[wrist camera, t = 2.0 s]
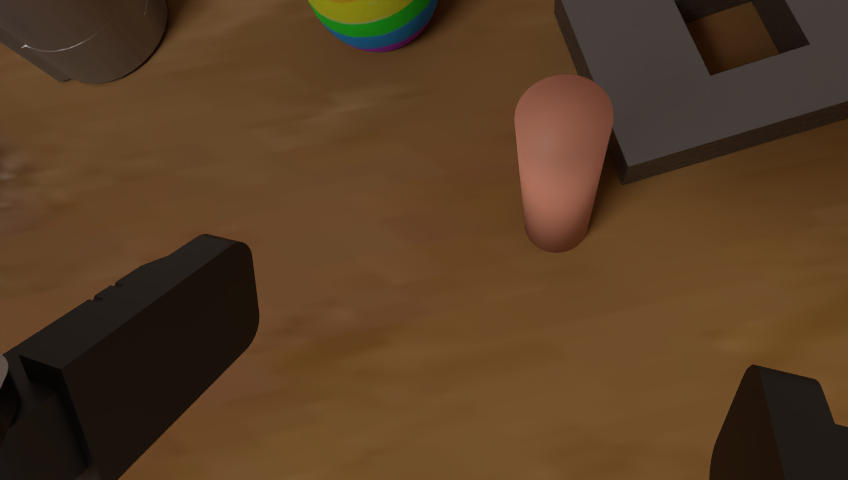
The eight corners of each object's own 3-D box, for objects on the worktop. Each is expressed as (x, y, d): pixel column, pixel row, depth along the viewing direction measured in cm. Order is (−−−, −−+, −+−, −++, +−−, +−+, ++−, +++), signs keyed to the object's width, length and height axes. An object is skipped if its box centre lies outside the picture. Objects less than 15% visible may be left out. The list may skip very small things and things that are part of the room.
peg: (535, 260, 31) (530, 172, 20) (517, 204, 32) (503, 91, 21) (596, 242, 30) (627, 143, 19) (576, 186, 32) (594, 61, 20)
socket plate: (621, 185, 31) (628, 166, 29) (554, 13, 35) (555, -16, 33) (929, 93, 29) (963, 66, 27) (822, -77, 33) (843, -115, 31)
